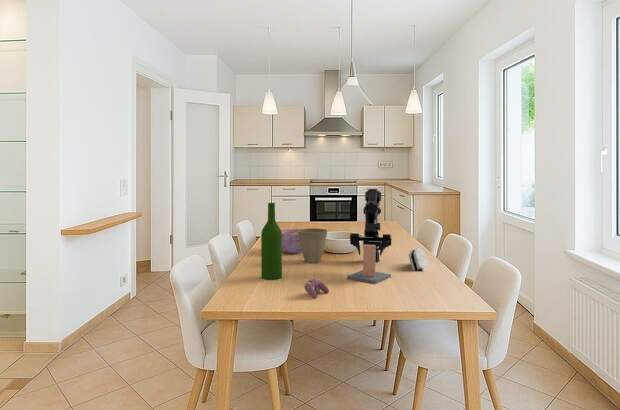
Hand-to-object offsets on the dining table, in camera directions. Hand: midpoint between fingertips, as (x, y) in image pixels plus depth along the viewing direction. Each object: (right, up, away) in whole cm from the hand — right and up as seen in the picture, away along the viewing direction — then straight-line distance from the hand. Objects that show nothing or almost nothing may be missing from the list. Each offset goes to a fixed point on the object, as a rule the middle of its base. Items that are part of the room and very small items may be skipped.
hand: (370, 254), depth 214 cm
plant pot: (-26, -6, +27) cm, 38 cm away
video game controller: (-24, -12, -31) cm, 42 cm away
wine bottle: (-43, -9, -5) cm, 45 cm away
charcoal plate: (-1, -9, -5) cm, 11 cm away
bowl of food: (-36, -4, +51) cm, 63 cm away
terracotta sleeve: (-1, -8, -5) cm, 10 cm away
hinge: (+25, -8, +16) cm, 31 cm away
